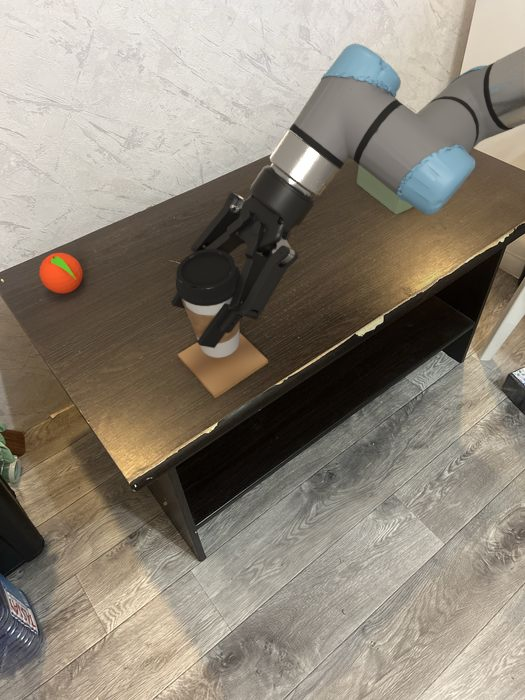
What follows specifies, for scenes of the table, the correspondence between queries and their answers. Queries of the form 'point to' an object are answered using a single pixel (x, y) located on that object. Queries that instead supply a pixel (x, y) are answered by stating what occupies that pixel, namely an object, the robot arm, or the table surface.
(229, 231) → the robot arm
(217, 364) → the trivet
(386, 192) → the holder
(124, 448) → the table surface
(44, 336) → the table surface
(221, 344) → the coffee cup
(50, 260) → the clementine
